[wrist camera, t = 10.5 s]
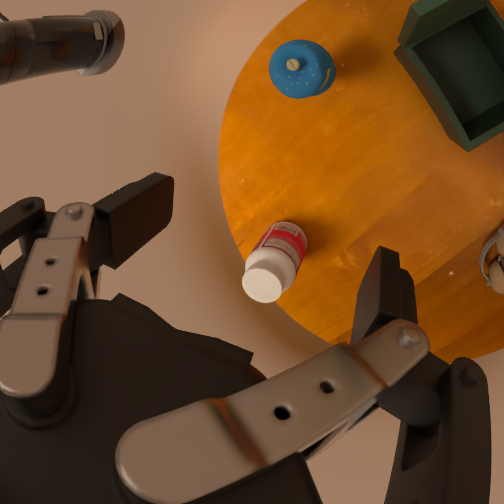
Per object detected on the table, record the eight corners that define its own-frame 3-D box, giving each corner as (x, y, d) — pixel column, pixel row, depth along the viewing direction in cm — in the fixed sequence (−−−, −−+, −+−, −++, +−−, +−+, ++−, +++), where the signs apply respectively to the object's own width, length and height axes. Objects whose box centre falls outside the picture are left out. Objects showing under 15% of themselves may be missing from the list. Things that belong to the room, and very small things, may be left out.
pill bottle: (276, 263, 47) (250, 311, 38) (258, 227, 45) (226, 269, 36) (315, 253, 44) (297, 303, 35) (298, 214, 42) (274, 256, 33)
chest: (518, 97, 23) (548, 103, 17) (449, 138, 30) (467, 152, 23) (465, 11, 21) (486, -4, 15) (393, 52, 27) (399, 44, 21)
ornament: (320, 102, 33) (290, 115, 21) (290, 71, 33) (242, 66, 21) (353, 76, 30) (343, 70, 18) (322, 43, 30) (292, 20, 18)
